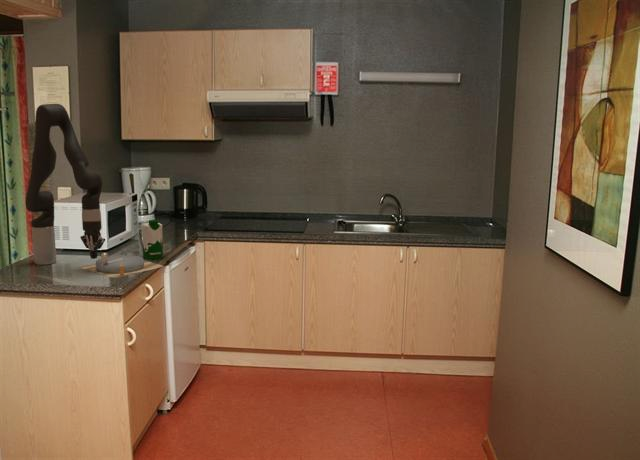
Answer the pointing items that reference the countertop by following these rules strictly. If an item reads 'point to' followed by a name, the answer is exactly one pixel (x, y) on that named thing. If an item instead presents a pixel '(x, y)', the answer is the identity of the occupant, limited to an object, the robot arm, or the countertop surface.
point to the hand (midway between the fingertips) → (93, 258)
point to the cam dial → (119, 263)
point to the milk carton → (152, 240)
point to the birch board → (114, 275)
